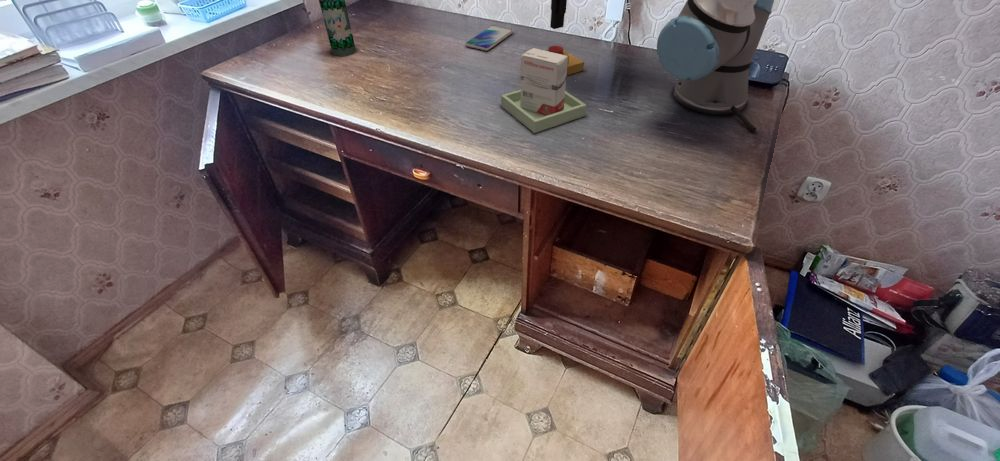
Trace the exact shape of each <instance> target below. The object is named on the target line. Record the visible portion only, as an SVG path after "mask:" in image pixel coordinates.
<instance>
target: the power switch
mask: <svg viewBox="0 0 1000 461" xmlns="http://www.w3.org/2000/svg"><path fill="white" fill-rule="evenodd" d="M544 51H548V49H546V50H544ZM563 55H566V56H568V63H567V75H566V76H570V75H572V74H573V75H574V74H576V73H579V72H583V71H584V68H585V61H583V60H582V59H580V58H579V57H576V56H574V55H573V54H571V53H569V52H568V51H566V50H564V49H563Z"/></svg>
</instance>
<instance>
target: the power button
mask: <svg viewBox="0 0 1000 461" xmlns="http://www.w3.org/2000/svg"><path fill="white" fill-rule="evenodd" d="M547 50H548V52H553V53H557V54H561V55H563V50H564V47H562V46H561V45H551V46H549V47H548V48H547Z"/></svg>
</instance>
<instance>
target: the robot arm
mask: <svg viewBox="0 0 1000 461" xmlns="http://www.w3.org/2000/svg"><path fill="white" fill-rule="evenodd" d="M567 4H568V0H551V1H550V10H551V13H550V24H549V27H550V29H553V30H556V29H561V28H564V25H565V14H566V12H567ZM774 4H775V0H686V2H685V4H684V6H683V7H682V9H681V11H680V12H679V14H678V15H677V17H674V18H672V19H670V20H669V21H668V22H667V23H666V24H665V25H664V26H663V28H662V29H661V31H660V32H659V34H658V36H657V39H656V40H657V41H656V54H657V55H658V58H659V59H658V60H659V63H660V65H661V66H662V68H663V70H664V71H665V72H666V73H667V74H669V75H670V76H671V77H672V78H674V79H676V80H677V81H676V83H675V85H674V86H675V87H674V90H673V97H674V99H675V100H676V101H677V102H678V103H679V104H680V105H682V106H684V107H685V108H687V109H690V110H692V111H694V112H698V113H701V114H707V115H715V116H723V115H724V116H725V115H733V114H735V115H736V116H737V117H738V118H739V120H740V121H741V122H742V123H743V124H744V125H745V127H746V128H748V129H749V130H750V131H751V132H753V133H754V132H756V131H757V127H756V126H755V125H753V123H752V122H750V121H749V119H748V118H747V117H746V116H745V115H744V114H743V113H742V112H741V111H742V110H743V109H744V108H745V106H746V103H747V101H748V98H749V75H750V74H749V73H750V72H749V70H750V68H751V65H752V63H753V59H754V57H755V54H756V52H757V49H758V46H759V44H760V41H761V39H762V36H763V34H764V31H765V28H766V26H767V23H768V21H769V18H770V15H772V9H773V7H774Z"/></svg>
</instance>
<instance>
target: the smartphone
mask: <svg viewBox="0 0 1000 461" xmlns="http://www.w3.org/2000/svg"><path fill="white" fill-rule="evenodd" d="M513 33H514V31H513V30H512V29H510V28H505V27H501V26H497V25H490V26H489V27H487V28H486V29H484V30H483V31H481V32H480V33H478V34H477V35H475V36H474V37H472V38H470V39H468V41H466V42H465V46H466V47H468V48H473V49H477V50H480V51H486V52H487V51H489V50H491V49H492V48H494V47H495V46H496V45H498V44H500V43H501V42H502V41H504V40H505V39H507V38H508V37H509V36H511V35H512V34H513Z"/></svg>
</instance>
